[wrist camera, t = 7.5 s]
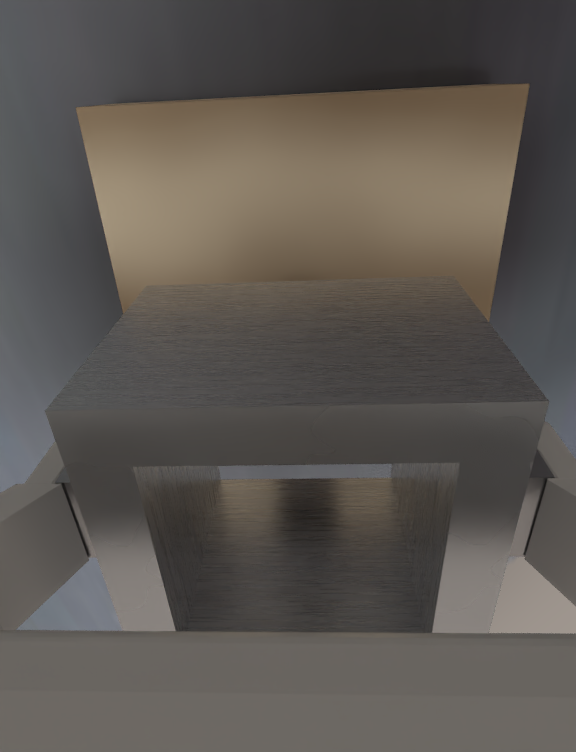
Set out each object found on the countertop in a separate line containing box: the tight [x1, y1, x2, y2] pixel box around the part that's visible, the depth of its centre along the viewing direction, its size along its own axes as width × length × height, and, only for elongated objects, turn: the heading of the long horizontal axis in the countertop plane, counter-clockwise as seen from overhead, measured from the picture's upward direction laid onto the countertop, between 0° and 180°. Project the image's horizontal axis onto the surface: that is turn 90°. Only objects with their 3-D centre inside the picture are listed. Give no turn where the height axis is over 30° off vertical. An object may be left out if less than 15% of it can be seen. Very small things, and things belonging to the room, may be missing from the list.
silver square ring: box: [45, 276, 549, 633], centre depth 9 cm, size 6×6×4 cm
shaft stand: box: [76, 84, 530, 322], centre depth 15 cm, size 12×12×8 cm
